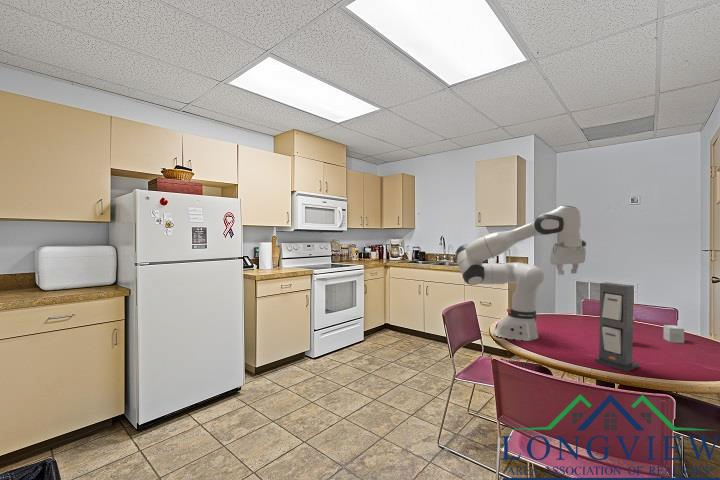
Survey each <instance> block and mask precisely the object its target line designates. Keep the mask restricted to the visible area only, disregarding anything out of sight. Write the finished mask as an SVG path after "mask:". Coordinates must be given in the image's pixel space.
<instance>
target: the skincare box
mask: <svg viewBox="0 0 720 480" xmlns="http://www.w3.org/2000/svg"><path fill="white" fill-rule="evenodd" d="M663 339H664V341H667V342H668V343H675V344H685V328H683V327H681V326H678V325H671V324H663Z"/></svg>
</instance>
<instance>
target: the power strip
mask: <svg viewBox="0 0 720 480" xmlns="http://www.w3.org/2000/svg"><path fill="white" fill-rule="evenodd" d="M634 289H635V288H634V285H630V284H622V283H613V282H607V281H606V282H601V283H599V335H598V336H599V338H598V339H599V341H598V342H599V343H598V344H599V347H598V351H599V353H598V357H595V358H594V363H597V364H600V365H603V366H607V367H610V368H613V369H616V370H620V371H623V372H625V373H628V372H631V371H633V370H635V369H638V368H640V363H639V362H637V361H633V355H634V353H633V352H634V351H633V350H634V347H633V346H634V345H633V343H634V326H633V316H634V296H635V295H634V292H635V291H634ZM605 293H606V294H613V295H620V296H623V306H622V314H621V321H620V320H615V319H610V318H605V317H602V314H603V306H604V298H605ZM604 326H605V327H610V328H614V329H619V330H621V339H622V354H617V353H614V352H610V351H606V350H604V342H603V333H602V327H604Z"/></svg>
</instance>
